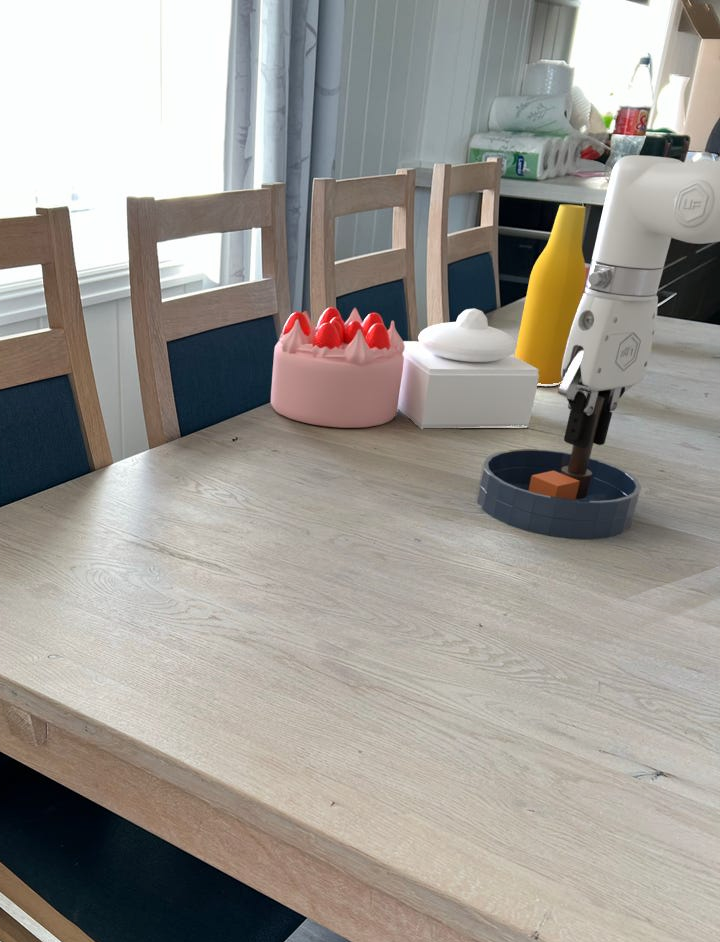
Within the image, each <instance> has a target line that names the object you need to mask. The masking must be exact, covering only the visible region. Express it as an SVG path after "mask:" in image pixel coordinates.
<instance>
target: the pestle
mask: <svg viewBox="0 0 720 942" xmlns="http://www.w3.org/2000/svg"><path fill="white" fill-rule="evenodd" d="M585 396H586V398H587V394H585ZM603 402H604V398H603V397H601V396H598V395H597V399H596V403H595V407H594V411H593V413H592V414H593V415H596V417H595V421H594V425H593V430H592V434H591V438H590V442H589V445H588V447H587V448H580V447H577V446H575V445H572V448H571V452H570V453H571V457H570V461H569V465H568V466H565V467H562V469H561V474H564V475H566V476H569V477H571V478H574V479H576V480H579V481H580V483H579V487H578V491H577V495H576V499H583V498H586V496H587V492H588V488H589V484H590V480H591V476H592V472H591V471H590V470H588V469H587V467H588V463H589V459H590V458H591V454H592V451H593V447H594V444H595V443H594V439H595V435H596V431H597V427H598V423H599V419H600V415H601V410H602V406H603Z"/></svg>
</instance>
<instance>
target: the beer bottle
mask: <svg viewBox="0 0 720 942" xmlns="http://www.w3.org/2000/svg"><path fill="white" fill-rule="evenodd" d="M585 219H586V206H583V205H578V204H577V205H576V204H560V205H559V207H558V210H557V213H556V216H555V219H554V223H553V226H552V228H551V232H550V235H549V239H548V240H547V241H548V242H547V244H546V245H545V247H544V249H543V251H542V252H541V254H540V255H539V256H538V258H537V259H536V261H535V263H534V265H533V267H532V270H531V273H530V275H529V281H528V286H527V291H526V296H525V300H524V307H523V311H522V316H521V322H520V327H519V332H518V336H517V342H516V350H515V352H514V356H515V357H517V358H519V359H521V360H522V361H524V362H526V363H528V364H529V365H531V366H533V367H535V368H537V369H538V370H539V371H538V375H539V379H538V383H541V384H553V383H559V382H561V381H562V380H563V379H562V377H561V370H562V363H563V358H564V354H565V349H566V345H567V342H568V338H569V334H570V331H571V328H572V324H573V321H574V318H575V315H576V312H577V310H578V307H579V304H580V302H581V297H582V293H583V289H584V285H585V278H586V269H585V263H586V261H585V258H584V253H583V237H584V236H583V235H584V227H585V226H584V225H585Z"/></svg>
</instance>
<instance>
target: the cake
mask: <svg viewBox="0 0 720 942" xmlns="http://www.w3.org/2000/svg"><path fill="white" fill-rule="evenodd" d="M403 341H404V340H403V339H402V337H401V336H400V334H399V333H398V331H397V329H396V326H395V321H394V320H391V321H390V326H389V328H388V329H387V327H386V326H385V324H384V321H383V318H382V316H381V314H379V313H378V312H370V313H369V314H368V315H367V316H366V317H365V318H364V320H362V318H361V316H360V314H359V311H358V309H357V308H356V307H353V309H352V311H351V313H350V314H349V317H348V318H347V320H346V321H344V320H343V319H342V315H341V313H340V311H339V310H338V309H337V308H336V307H334V306H330V307H328V308H327V307H326V309H325V310H324V311H323V313H322V314H321V315H320V317H319V319H318V321H317V325H316V326H314V324H313V323H312V321H311V319H310V316H309V313H308V311H307V310H305V311H303V312H302V311H295V312H293V313H292V314H290V315H289V317H288V319H287V321H286V322H285V324H284V326H283V329H282V332H281V333H280V335H279V338H278V341H277V342H276V344H275V346H274V352H273V364H272V376H271V389H270V404H271V407H272V408H273V409H274V411H275V412H276V413H278V414H279V415H282V416H283V417H286V418H288V419H291V420H294V421H296V422H301V423H305V424H309V425H314V426H319V427H320V426H321V427H331V428H340V429H341V428H345V429H347V428H349V429H351V428H352V429H353V428H354V429H355V428H357V429H358V428H369V427H375V426H381V425H384V424H387V423H389V422H391V421H392V420H393V419H394V418H395V417H396V415H397V411H398V409H397V407H398V400H399V393H400V386H401V379H402V371H403V364H404V356H403V352H404V349H405V346H404V343H403Z"/></svg>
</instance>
